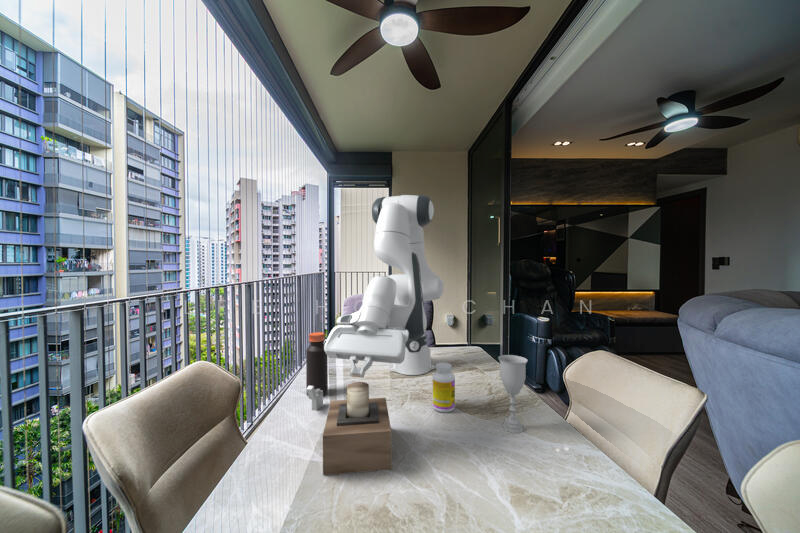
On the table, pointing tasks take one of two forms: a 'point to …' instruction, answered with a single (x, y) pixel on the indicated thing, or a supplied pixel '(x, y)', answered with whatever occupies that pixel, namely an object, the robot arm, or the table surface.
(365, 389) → the peg
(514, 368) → the chalice
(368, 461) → the block
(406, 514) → the table surface
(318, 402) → the lighter
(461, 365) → the table surface
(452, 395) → the supplement bottle
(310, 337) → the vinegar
